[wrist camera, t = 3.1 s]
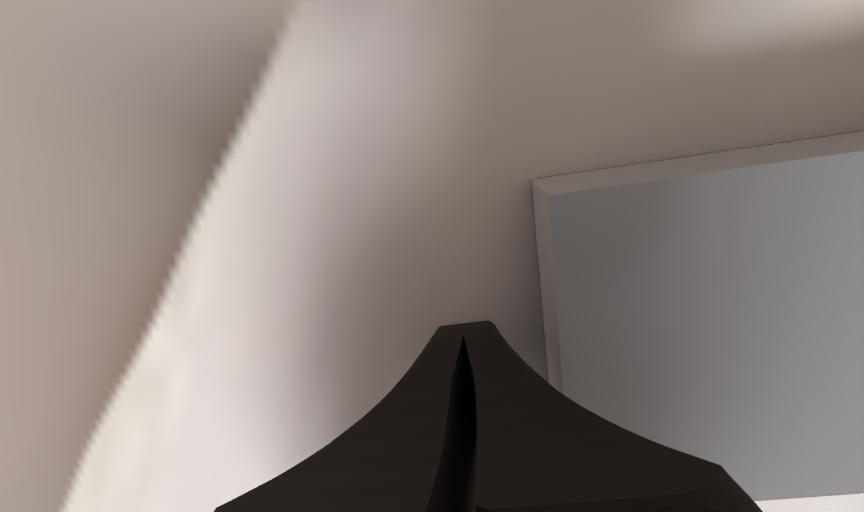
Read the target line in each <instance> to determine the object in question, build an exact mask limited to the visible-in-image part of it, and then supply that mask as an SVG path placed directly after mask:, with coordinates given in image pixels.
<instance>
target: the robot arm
mask: <svg viewBox="0 0 864 512" xmlns="http://www.w3.org/2000/svg"><path fill="white" fill-rule="evenodd" d="M214 512H763V511H762V510H761V509H760V508H759V507H758V506H757V504H756V503H755V502H754V501H753V500H752V499H751V497H750V496H749V495H748V494H747V493H746V492H745V491H744V490H743V489H742V488H741V487H740V486H739V485H738V484H737V483H736V482H735V481H734V480H733V479H732V477H731V476H730V475H729V474H728V473H727V472H726V471H725V469H724V468H723V467H722V466H721V465H718V464H716V463H713V462H710V461H707V460H704V459H701V458H698V457H696V456H693V455H690V454H687V453H684V452H681V451H678V450H676V449H673V448H670V447H667V446H664V445H661V444H659V443H656V442H654V441H651V440H649V439H647V438H644V437H642V436H640V435H638V434H635V433H633V432H631V431H628V430H626V429H624V428H622V427H620V426H618V425H616V424H614V423H612V422H610V421H608V420H606V419H604V418H602V417H600V416H598V415H597V414H595V413H593V412H591V411H589V410H588V409H586V408H584V407H582V406H581V405H579V404H577V403H576V402H574V401H573V400H571V399H569V398H568V397H566V396H565V395H564V394H562V393H561V392H559V391H558V390H557V389H555V388H554V387H553V386H551V385H550V384H549V383H548V382H546V381H545V380H544V379H543V378H542V377H541V376H539V375H538V374H537V373H536V372H535V371H534V370H533V369H532V368H531V367H529V366H528V365H527V364H526V363H525V362H524V361H523V360H522V359H521V357H520V356H519V355H518V354H517V353H516V352H515V351H514V350H513V349H512V348H511V347H510V346H509V344H508V343H507V342H506V341H505V339H504V338H503V337H502V336H501V334H500V333H499V331H498V330H497V328H496V327H495V324H493V323H492V322H491V321H490V320H489V321H480V322H472V323H464V324H455V325H447V326H440V327H439V328H438V329H437V330H436V332H435V333H434V335H433V336H432V338H431V339H430V341H429V342H428V344H427V345H426V347H425V348H424V350H423V351H422V353H421V354H420V355H419V357H418V358H417V359H416V361H415V362H414V363H413V365H412V366H411V367H410V369H409V370H408V371H407V373H406V374H405V375H404V376H403V377H402V379H401V380H400V381H399V382H398V383H397V384H396V386H395V387H394V388H393V389H392V390H391V391H390V392H389V393H388V394H387V395H386V396H385V397H384V398H383V399H382V400H381V401H380V402H379V403H378V404H377V405H376V406H375V407H374V408H373V409H372V410H371V411H370V412H368V413H367V414H366V415H365V416H364V417H363V418H362V419H360V420H359V421H358V422H357V423H355V424H354V425H353V426H351V427H350V428H349V429H348V430H346V431H345V432H344V433H342V434H341V435H340V436H338V437H337V438H336V439H335V440H333V441H332V442H331V443H329V444H328V445H326V446H325V447H324V448H322V449H321V450H319V451H318V452H316V453H315V454H313V455H312V456H310V457H309V458H307V459H305V460H304V461H302V462H300V463H299V464H297V465H296V466H294V467H292V468H291V469H289V470H287V471H286V472H284V473H282V474H280V475H279V476H277V477H275V478H274V479H272V480H270V481H268V482H266V483H264V484H262V485H260V486H258V487H256V488H254V489H252V490H251V491H249V492H247V493H245V494H243V495H241V496H239V497H237V498H235V499H233V500H231V501H229V502H227V503H225V504H223V505H221V506H219V507H217V508H216V509H215V511H214Z"/></svg>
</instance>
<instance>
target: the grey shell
mask: <svg viewBox="0 0 864 512" xmlns="http://www.w3.org/2000/svg"><path fill="white" fill-rule="evenodd" d="M531 183H532V195H533V206H534V218H535V230H536V241H537V253H538V265H539V276H540V288H541V300H542V311H543V323H544V335H545V346H546V358H547V370H548V381H549V384H550V385H551V386H553V387H554V388H555V389H557V390H558V391H559V392H561V393H562V394H564V395H565V396H566V397H568V398H569V399H571V400H573V401H574V402H576V403H577V404H579V405H581V406H582V407H584V408H586V409H588V410H589V411H591V412H593V413H595V414H597V415H598V416H600V417H602V418H604V419H606V420H608V421H610V422H612V423H614V424H616V425H618V426H620V427H622V428H624V429H626V430H628V431H631V432H633V433H635V434H638V435H640V436H642V437H644V438H647V439H649V440H651V441H654V442H656V443H659V444H661V445H664V446H667V447H670V448H673V449H676V450H678V451H681V452H684V453H687V454H690V455H693V456H696V457H698V458H701V459H704V460H707V461H710V462H713V463H716V464H718V465H721V466H722V467H723V468H724V469H725V471H726V472H727V473H728V474H729V475H730V476H731V477H732V479H733V480H734V481H735V482H736V483H737V484H738V485H739V486H740V487H741V488H742V489H743V490H744V491H745V492H746V493H747V494H748V495H749V496H750V497H751V499H752V500H753V501H762V500H776V499H790V498H803V497H817V496H831V495H845V494H859V493H864V131H859V132H852V133H846V134H839V135H832V136H825V137H818V138H811V139H805V140H798V141H791V142H784V143H777V144H770V145H764V146H757V147H750V148H743V149H736V150H729V151H722V152H716V153H709V154H702V155H695V156H688V157H681V158H675V159H668V160H661V161H654V162H647V163H640V164H634V165H627V166H620V167H613V168H606V169H599V170H592V171H586V172H579V173H572V174H565V175H558V176H551V177H545V178H538V179H531Z"/></svg>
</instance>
